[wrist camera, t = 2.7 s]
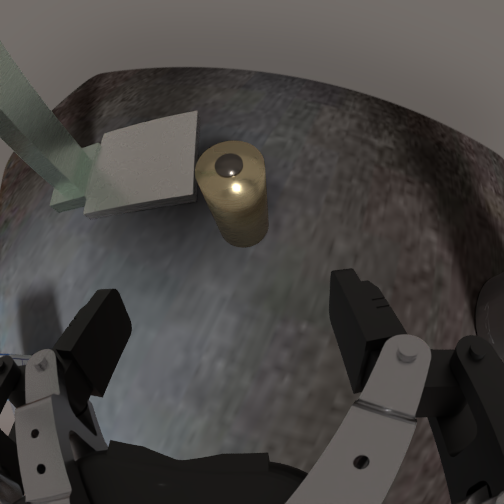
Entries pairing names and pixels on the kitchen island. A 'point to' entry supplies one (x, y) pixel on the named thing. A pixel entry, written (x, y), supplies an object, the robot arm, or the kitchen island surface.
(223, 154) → the housing
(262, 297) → the kitchen island surface
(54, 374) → the robot arm
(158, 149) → the press bed
